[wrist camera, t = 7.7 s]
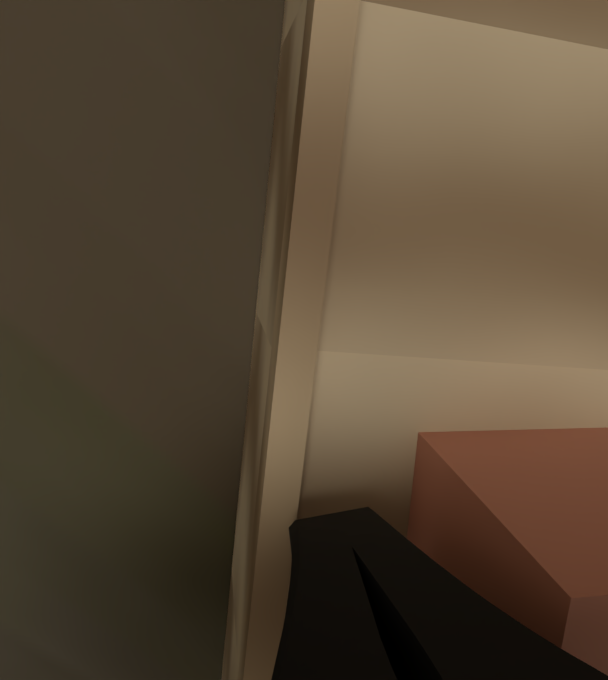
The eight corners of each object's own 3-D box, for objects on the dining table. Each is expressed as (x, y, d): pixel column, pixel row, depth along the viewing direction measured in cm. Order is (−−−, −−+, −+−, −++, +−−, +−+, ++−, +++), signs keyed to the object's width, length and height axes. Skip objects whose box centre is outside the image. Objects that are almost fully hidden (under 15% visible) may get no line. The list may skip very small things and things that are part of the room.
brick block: (418, 432, 10) (570, 598, 6) (625, 427, 10) (891, 569, 6) (396, 631, 11) (513, 892, 7) (586, 612, 11) (795, 837, 7)
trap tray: (297, -133, 10) (384, -457, 5) (838, -2, 12) (1249, -135, 7) (203, 872, 15) (200, 1176, 11) (585, 826, 18) (725, 1057, 13)
